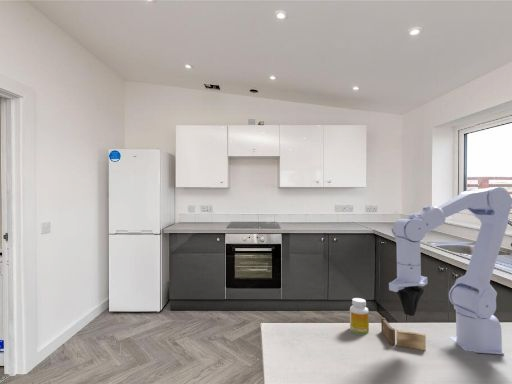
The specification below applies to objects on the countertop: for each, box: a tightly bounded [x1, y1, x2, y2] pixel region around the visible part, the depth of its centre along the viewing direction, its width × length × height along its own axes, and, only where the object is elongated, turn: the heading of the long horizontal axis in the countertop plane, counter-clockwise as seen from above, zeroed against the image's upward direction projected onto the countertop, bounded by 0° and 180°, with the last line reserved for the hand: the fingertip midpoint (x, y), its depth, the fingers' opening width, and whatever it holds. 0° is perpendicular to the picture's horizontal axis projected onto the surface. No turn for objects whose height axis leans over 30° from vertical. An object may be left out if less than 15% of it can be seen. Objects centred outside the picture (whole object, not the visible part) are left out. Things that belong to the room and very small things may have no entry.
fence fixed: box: [380, 317, 396, 346], centre depth 83 cm, size 2×9×5 cm, turn 172°
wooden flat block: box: [396, 329, 427, 351], centre depth 77 cm, size 7×1×4 cm, turn 67°
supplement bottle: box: [349, 297, 370, 335], centre depth 87 cm, size 5×5×10 cm
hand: (409, 314), depth 77 cm, fingers closed
